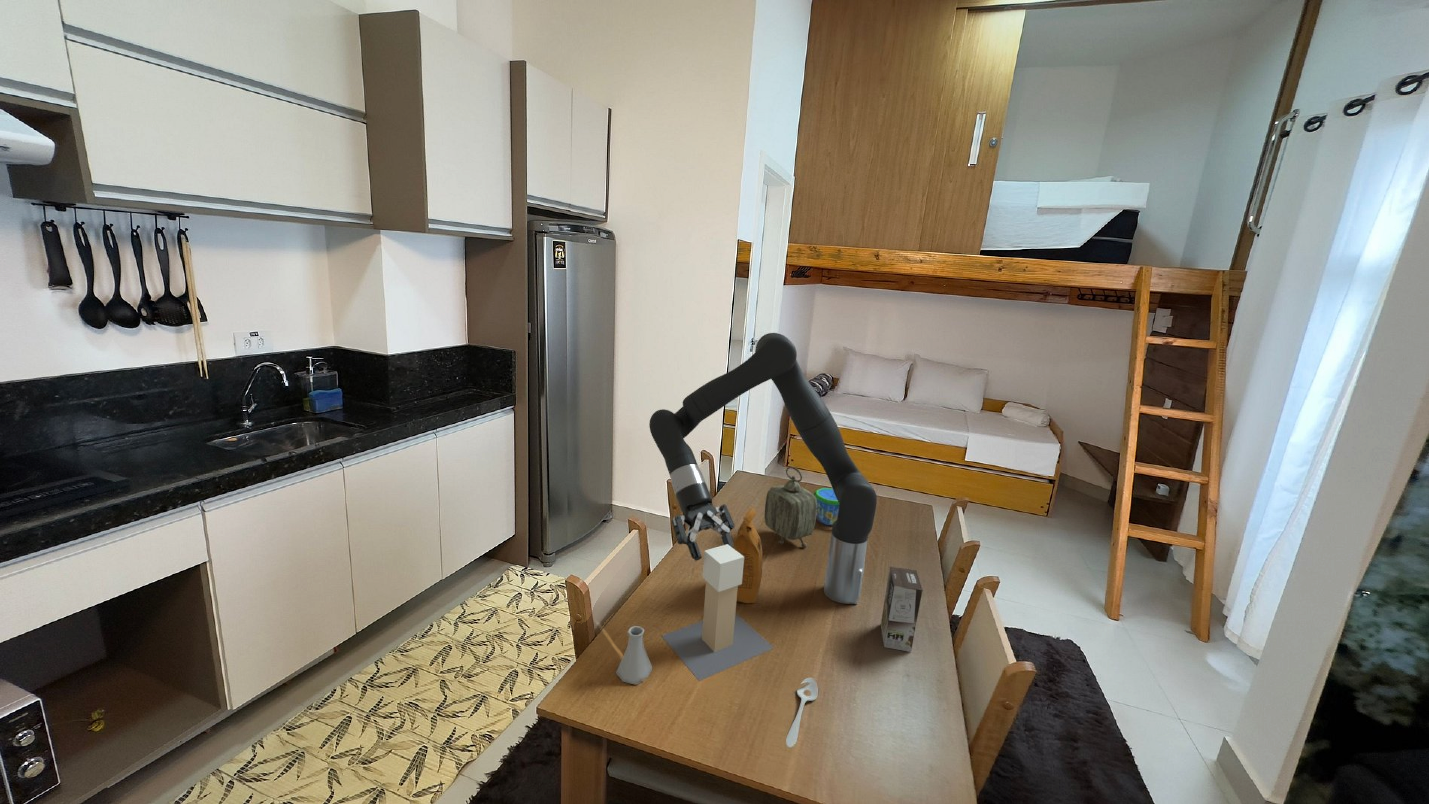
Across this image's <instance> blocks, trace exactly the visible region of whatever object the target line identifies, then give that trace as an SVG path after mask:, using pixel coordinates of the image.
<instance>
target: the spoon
mask: <svg viewBox="0 0 1429 804" xmlns="http://www.w3.org/2000/svg"><path fill="white" fill-rule="evenodd" d="M805 683H808V684H805ZM802 684H805V685H803V686H801V687H799V688H798V689H797V690H796V694H797V696H798V697H799V698H800V699H801V700H800V704H799V708H798V710H797V713H796V716H795V718H794V719H793V720H794V721H792V724H791V726H790V728H789V731H788V734H787V735H786V739H785V744H786V747H788V748H793V747H794V746H795V745H796V743H797V740H798V736H799V731H800V725H801V717H802V715H803V709H804V706H805V703H806V702H809V701H811V702H813V701H815V700H816V699H817V698H818V693H819V692H818V691H819V689H818V685H817V681H816V680H815V679H814V678H813V677H807V678H805V679H803V680H802V682H801V683H800V685H802ZM805 691H809V692H810V695H806V694H805V693H804V692H805ZM794 744H795V745H794Z"/></svg>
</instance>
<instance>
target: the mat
mask: <svg viewBox="0 0 1429 804" xmlns="http://www.w3.org/2000/svg"><path fill="white" fill-rule="evenodd" d="M702 631H703V620H701V621H697V622H695V623H693V624H690V625H687V626H685V627H682V628H679V629H676V630H673V631H670V632H667V633H665V634H662V635H661V638H662V639H663V640H664V642H666V644H668V646H669V648H671V650H673V652H674V653H675V655H677V657H678V658H679V659H680V660H681V661H682V663H683V664H684V665H685V666H686V667H687V669H689V671H690V672H691V673H692V674H693V675H694V676H695V678H696V679H697V680H698V681H699V682H700V681H702V680H704V679H707V678H709V677H711V676H713V675H716V674H718V673H721V672H724V671H725V670H728V669H730V668H732V667H735V666H736V665H739V664H741V663H744V662H746V661H748V660H750V659H752V658H756V657H758V656H759V655H762V654H764V653H766V652H769V651H771V650H773V649H774V647H773V646H772V645H771V644H770V643H769V642H768V641H767V640H766V639H765V638H763V636H762V635H760V634H759V633H758V632H757V631H756V630H755V629H754V628H753V627H752V626H751V625H750V624H748V623H747V622H746V620H744V619H743V618H742V617H741V616H739V614H738V613H736V612H735V624H734V635H733V645H731V646H728V647H726V648H724V649H721V650H719V651H716V652H714V651H713V650H712V649H711V648H710V647H709V646H708V645H707V644H706V643H705V642H704V641H703V640H702Z"/></svg>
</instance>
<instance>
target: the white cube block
mask: <svg viewBox="0 0 1429 804" xmlns="http://www.w3.org/2000/svg"><path fill="white" fill-rule="evenodd" d="M743 566H744V556H742V555H741V554H740V553H739V552H737V551H736V550H735V549H733V548H732V547H731V546H729V545H728V544H726V545H724V544H723V545H720V546H717V547H712V548H709V549H706V550H704V552H703V567H702V579H703V580H705V582H706V581H707V582H708V583H709V584H710V585H711V586H712V587H714V588H715V589H716V590H717V591H718V592H720V591H723V590H726V589H729V588H732V587H735V586H738V585H741V584H742V577H743Z"/></svg>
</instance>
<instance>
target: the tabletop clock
mask: <svg viewBox="0 0 1429 804" xmlns="http://www.w3.org/2000/svg"><path fill="white" fill-rule="evenodd" d="M789 469H792V470H794V471H796V472H797V473H798V475H799V477H800V479H796V476H795V475H793V476H791V475H790V474H789V473H788V470H789ZM785 473H786V475H787V477H788V478H789V479H790V480H787V482H786V483H784V484H781V485H776V486H775V485H774V486H771V488H769V490H768V491H767V494H766V497H765V503H764V524H765V525H766V526H767V527H768V528H769V529H770V530H771V531H772V532H774V533H775V534H777V535H779V536H780V539H778V543H779V545H783V544H784V542H785V541H784V539H787V540H789V541H797V540H799V541H800V543H801V544H800V545H801V547H802V548H803V549H805V548H807V547H808V546H807V543H806V542H804V540H803V538H805V537H808V536H812V534H813V533H814V531H815V526H816V520H817V502H816V497H815V496H814V495H813V494H814V493H812V492H810V490H808V489H806V488H804V487H803V486H801V485H800V482H802V480H803V475H802V473H801V470H799V469H798V468H796V467H795V466H788V467H786V470H785Z"/></svg>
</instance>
